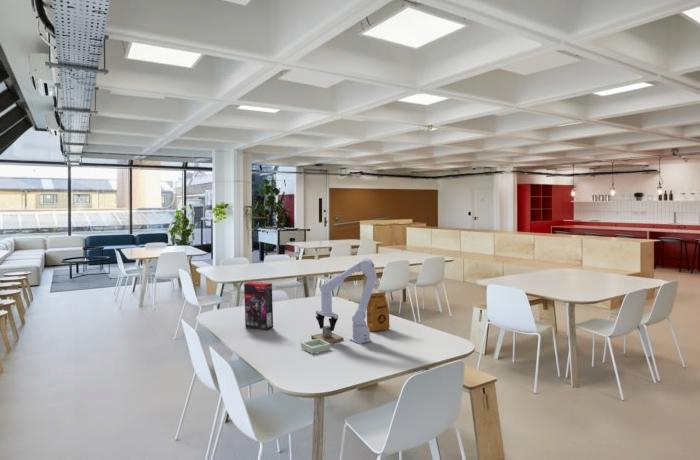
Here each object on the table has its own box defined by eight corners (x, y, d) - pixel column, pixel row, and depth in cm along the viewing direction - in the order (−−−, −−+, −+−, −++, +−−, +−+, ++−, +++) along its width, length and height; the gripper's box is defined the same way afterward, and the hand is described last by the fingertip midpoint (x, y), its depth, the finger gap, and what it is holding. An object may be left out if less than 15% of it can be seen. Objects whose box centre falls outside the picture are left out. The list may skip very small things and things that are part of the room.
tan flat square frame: (343, 340, 233) (343, 337, 233) (324, 344, 226) (324, 341, 226) (329, 334, 244) (329, 331, 244) (311, 338, 237) (311, 335, 237)
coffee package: (391, 330, 249) (391, 293, 247) (371, 333, 244) (371, 295, 243) (384, 326, 258) (383, 290, 257) (365, 328, 254) (364, 291, 252)
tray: (330, 349, 218) (330, 343, 218) (311, 354, 212) (311, 348, 212) (319, 344, 227) (319, 338, 227) (301, 348, 221) (300, 342, 221)
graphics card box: (244, 327, 260) (242, 283, 259) (251, 324, 266) (250, 281, 265) (266, 331, 252) (265, 285, 251) (274, 328, 258) (272, 283, 257)
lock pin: (331, 339, 235) (331, 326, 234) (326, 340, 232) (325, 328, 232) (328, 337, 237) (328, 325, 237) (322, 339, 235) (322, 326, 235)
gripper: (341, 305, 233) (341, 330, 233) (321, 301, 241) (321, 325, 242) (333, 307, 227) (333, 333, 228) (312, 304, 236) (313, 328, 237)
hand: (326, 329), depth 235 cm, fingers open, 7 cm apart
